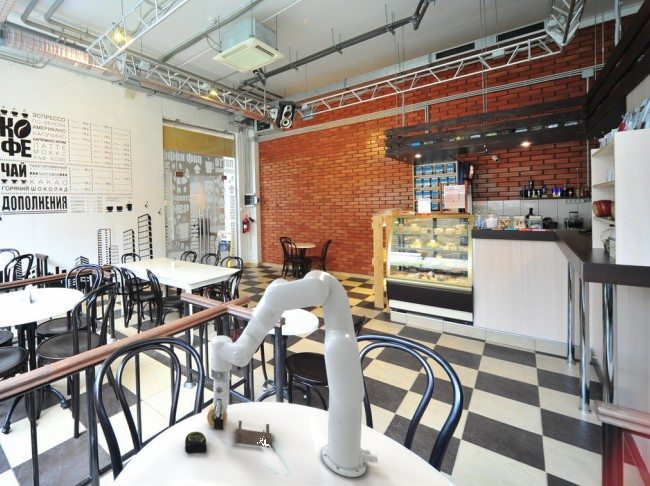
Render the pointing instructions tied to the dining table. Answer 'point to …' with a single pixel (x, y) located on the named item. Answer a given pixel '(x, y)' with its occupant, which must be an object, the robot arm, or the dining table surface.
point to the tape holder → (252, 436)
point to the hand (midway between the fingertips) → (220, 420)
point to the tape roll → (212, 414)
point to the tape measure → (195, 443)
